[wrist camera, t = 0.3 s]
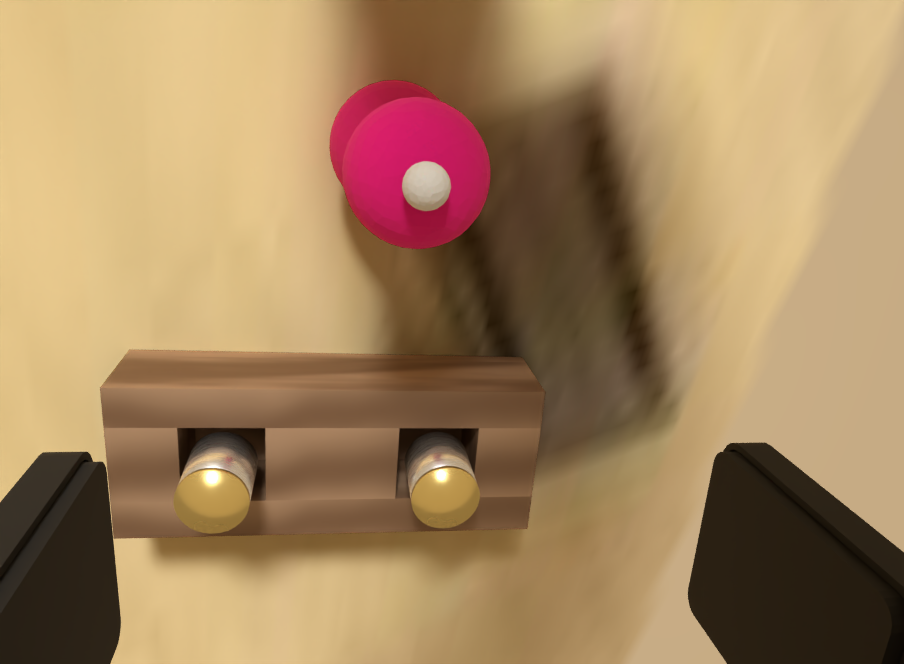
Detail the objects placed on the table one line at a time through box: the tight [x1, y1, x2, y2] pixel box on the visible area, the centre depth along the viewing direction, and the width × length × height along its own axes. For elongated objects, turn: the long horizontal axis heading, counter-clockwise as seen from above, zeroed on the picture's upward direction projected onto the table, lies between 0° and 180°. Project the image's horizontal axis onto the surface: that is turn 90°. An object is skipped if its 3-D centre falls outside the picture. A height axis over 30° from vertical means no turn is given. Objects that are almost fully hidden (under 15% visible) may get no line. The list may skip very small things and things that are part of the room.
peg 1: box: [173, 432, 258, 534], centre depth 41 cm, size 4×4×4 cm
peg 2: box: [405, 432, 480, 528], centre depth 43 cm, size 4×4×4 cm
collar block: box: [100, 350, 545, 539], centre depth 46 cm, size 10×26×6 cm, turn 85°
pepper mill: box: [330, 80, 490, 249], centre depth 34 cm, size 7×7×20 cm
